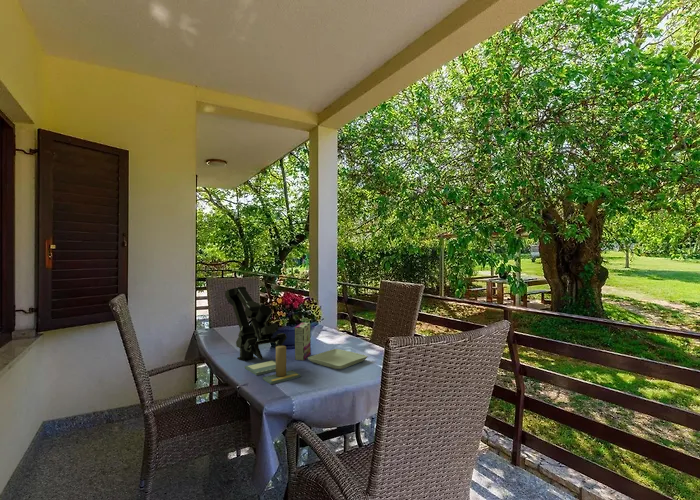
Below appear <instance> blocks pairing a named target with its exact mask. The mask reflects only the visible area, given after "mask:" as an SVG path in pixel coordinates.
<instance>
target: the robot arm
mask: <svg viewBox="0 0 700 500" xmlns="http://www.w3.org/2000/svg"><path fill="white" fill-rule="evenodd" d="M224 296H225V299H226V301H227V302H228V303H229V304H230V305H231V306H232V307H233V308H232V309H233V311H234V314H235V318H236V320H237V321H236V322H237V325H238V328H239V332H238V334H237V335H238V338H237V339H236V342H235V345H236V347H237V348H239V356H238V357H236V359H237V360H240V361H244V362H247V361H249V360H254V359H256V357H257V358H258V359H259V360H260V361H262V362H263V360H264V357H263V354H262V352H261V350H260V347H259V346H260V345H266V344H271V343H273V344H274V348H276V346H283V345H284V343H285V341H286V340H287V334H286V333H283V332H282V333H277V334H276V332H277V331H279V327H278V326H279V325H278V324H277V323H273V324H271V325H267V322H268V320H269V319H270V317H271V315H272V313H273V310H272V308H271V307H270V306H268V305H266V303H261V304H260V303H258V302H257V301H254V300H253V298H252V296H251V295H250V294H249V292H248V291H247V288H246V286H236V287H233V288H228V289H227V290H226V291H225V293H224ZM249 319H252V320H251V322H250V323H251V324H250V323H249ZM274 333H275V334H276V335H275V337H273V336H274Z"/></svg>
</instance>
